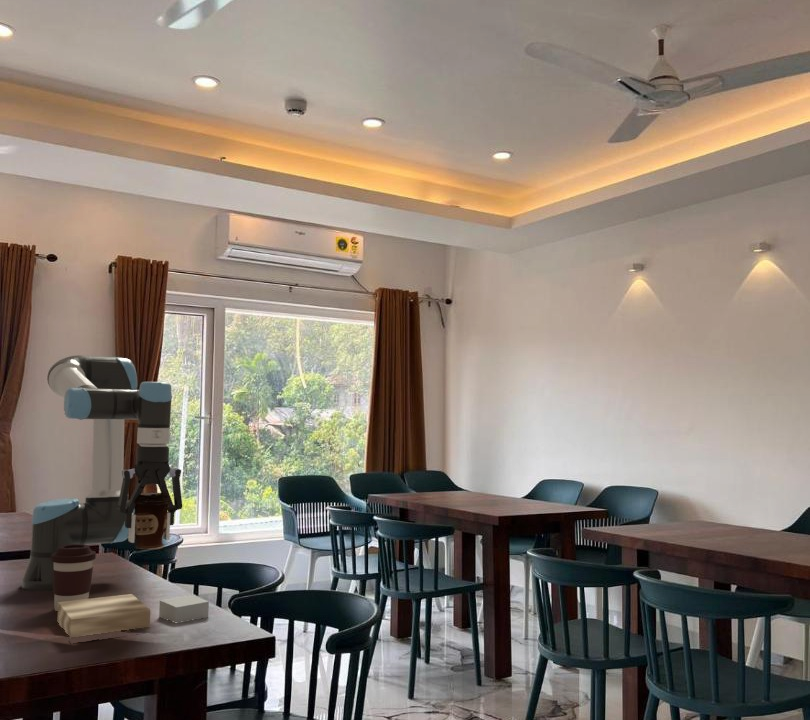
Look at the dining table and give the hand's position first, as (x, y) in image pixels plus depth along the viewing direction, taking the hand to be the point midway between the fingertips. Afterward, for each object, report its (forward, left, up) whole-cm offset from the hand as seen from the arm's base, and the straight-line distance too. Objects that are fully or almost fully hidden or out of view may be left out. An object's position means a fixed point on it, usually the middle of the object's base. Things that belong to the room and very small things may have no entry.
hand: (148, 540), depth 184 cm
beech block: (+10, -12, -17) cm, 23 cm away
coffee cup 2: (+1, 0, -2) cm, 2 cm away
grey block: (+13, +5, -17) cm, 22 cm away
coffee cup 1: (-10, -15, -17) cm, 25 cm away
